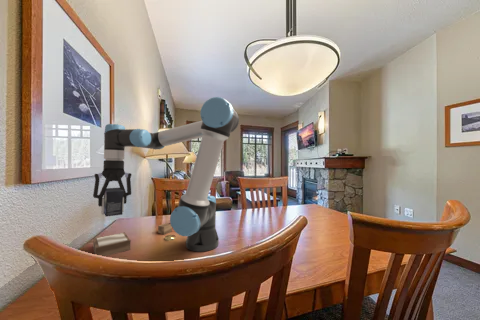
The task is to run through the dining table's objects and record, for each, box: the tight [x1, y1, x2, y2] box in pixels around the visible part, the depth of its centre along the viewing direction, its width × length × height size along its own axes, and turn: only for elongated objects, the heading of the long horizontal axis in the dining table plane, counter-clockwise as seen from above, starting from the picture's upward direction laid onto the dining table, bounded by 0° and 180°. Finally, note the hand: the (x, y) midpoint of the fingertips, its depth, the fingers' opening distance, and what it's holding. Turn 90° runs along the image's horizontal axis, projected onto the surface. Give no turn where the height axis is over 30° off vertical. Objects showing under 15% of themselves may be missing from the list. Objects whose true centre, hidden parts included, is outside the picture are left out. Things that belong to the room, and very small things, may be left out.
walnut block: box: [157, 223, 173, 236], centre depth 103 cm, size 5×5×4 cm
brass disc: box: [164, 234, 177, 242], centre depth 95 cm, size 5×5×1 cm
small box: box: [103, 187, 124, 217], centre depth 83 cm, size 11×6×10 cm, turn 40°
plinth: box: [92, 232, 132, 257], centre depth 83 cm, size 12×12×4 cm
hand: (112, 212), depth 83 cm, fingers closed on small box, 6 cm apart
